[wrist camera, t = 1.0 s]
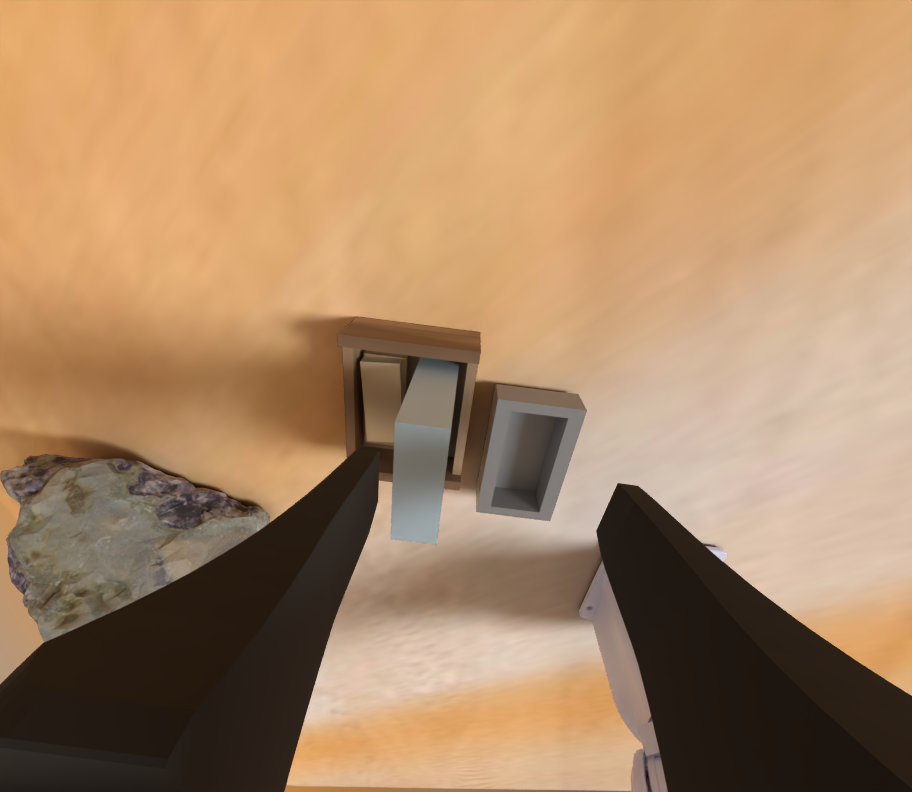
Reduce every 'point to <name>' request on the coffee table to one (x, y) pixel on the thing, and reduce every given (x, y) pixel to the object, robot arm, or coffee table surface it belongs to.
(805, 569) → the coffee table surface
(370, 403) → the block
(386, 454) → the frame
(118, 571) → the mineral rock
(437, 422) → the pale blue flat block
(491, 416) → the stand
